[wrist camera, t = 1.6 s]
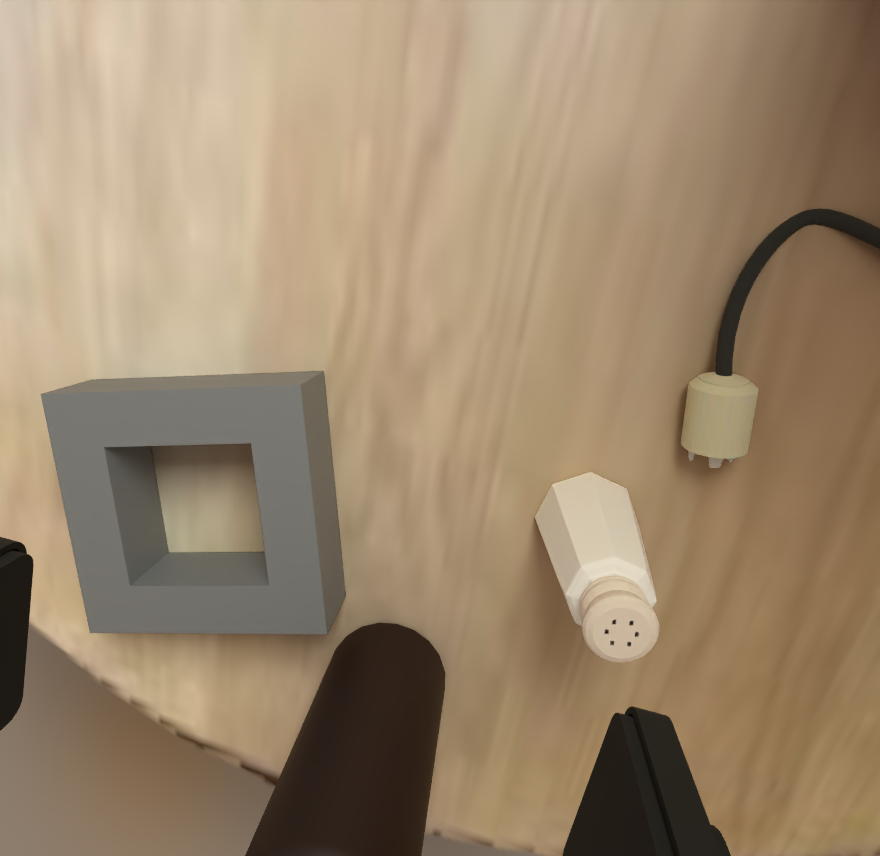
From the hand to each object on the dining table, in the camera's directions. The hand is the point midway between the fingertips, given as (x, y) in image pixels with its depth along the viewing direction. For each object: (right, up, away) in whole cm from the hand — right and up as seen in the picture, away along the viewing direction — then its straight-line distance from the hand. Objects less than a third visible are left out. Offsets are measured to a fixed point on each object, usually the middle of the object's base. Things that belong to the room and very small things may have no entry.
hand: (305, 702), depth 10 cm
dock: (-10, +1, +26) cm, 28 cm away
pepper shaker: (+10, -1, +25) cm, 27 cm away
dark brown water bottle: (-1, -10, +28) cm, 30 cm away
